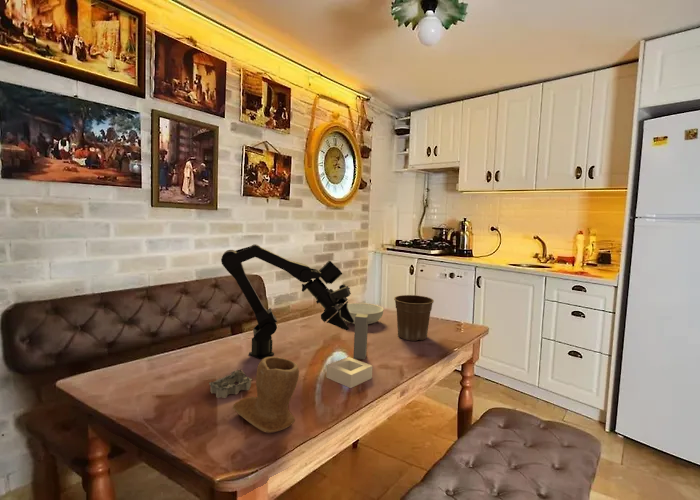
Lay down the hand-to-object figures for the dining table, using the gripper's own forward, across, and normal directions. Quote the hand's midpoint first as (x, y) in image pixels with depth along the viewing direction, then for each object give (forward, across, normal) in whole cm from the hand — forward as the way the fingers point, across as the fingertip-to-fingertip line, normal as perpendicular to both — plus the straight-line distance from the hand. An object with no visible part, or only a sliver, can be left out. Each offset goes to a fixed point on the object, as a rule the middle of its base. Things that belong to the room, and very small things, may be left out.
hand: (350, 325), depth 138 cm
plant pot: (+23, +29, -7) cm, 38 cm away
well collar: (+10, -18, +5) cm, 22 cm away
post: (+10, 0, +5) cm, 12 cm away
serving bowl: (+6, +43, +10) cm, 45 cm away
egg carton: (-11, -36, +27) cm, 46 cm away
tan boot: (0, -47, +15) cm, 50 cm away
